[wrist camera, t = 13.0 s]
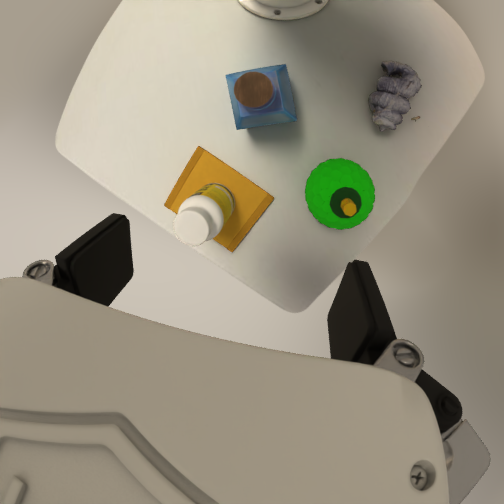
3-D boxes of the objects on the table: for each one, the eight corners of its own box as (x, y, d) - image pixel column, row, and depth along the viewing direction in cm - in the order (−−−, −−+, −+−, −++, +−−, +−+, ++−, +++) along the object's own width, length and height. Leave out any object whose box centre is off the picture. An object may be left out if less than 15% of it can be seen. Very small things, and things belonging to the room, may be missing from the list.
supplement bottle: (214, 173, 34) (187, 192, 25) (243, 202, 35) (227, 230, 27) (189, 200, 36) (158, 227, 28) (217, 227, 38) (194, 262, 29)
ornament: (329, 141, 31) (343, 149, 22) (376, 181, 32) (404, 204, 23) (291, 190, 34) (290, 216, 25) (338, 226, 35) (352, 262, 27)
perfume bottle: (237, 83, 29) (209, 64, 18) (286, 74, 27) (284, 49, 17) (246, 128, 31) (223, 131, 21) (295, 121, 30) (298, 119, 19)
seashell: (390, 65, 25) (371, 128, 30) (376, 48, 21) (355, 120, 26) (427, 76, 22) (407, 144, 27) (419, 59, 19) (397, 136, 24)
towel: (165, 204, 37) (163, 205, 37) (199, 145, 33) (198, 146, 33) (232, 251, 39) (232, 252, 39) (274, 197, 35) (273, 198, 34)
